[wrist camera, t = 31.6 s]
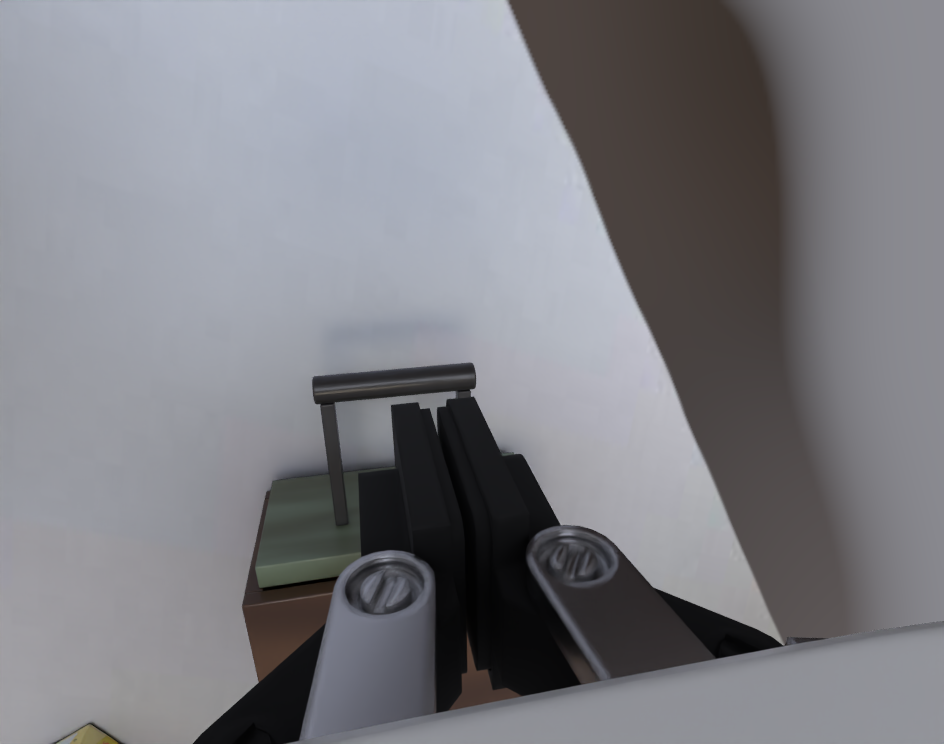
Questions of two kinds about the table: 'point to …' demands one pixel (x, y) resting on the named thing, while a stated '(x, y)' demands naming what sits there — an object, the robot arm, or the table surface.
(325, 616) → the cabinet
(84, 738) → the candy box
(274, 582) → the handled lid slab
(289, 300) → the table surface
